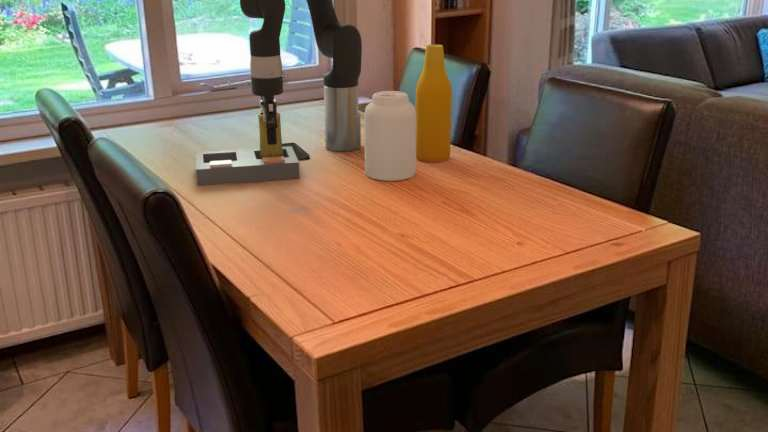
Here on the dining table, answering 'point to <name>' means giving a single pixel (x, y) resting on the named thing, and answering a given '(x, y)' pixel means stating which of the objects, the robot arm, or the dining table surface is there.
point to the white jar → (390, 137)
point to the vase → (265, 148)
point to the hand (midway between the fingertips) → (270, 139)
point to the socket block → (244, 166)
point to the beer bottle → (433, 108)
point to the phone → (297, 151)
